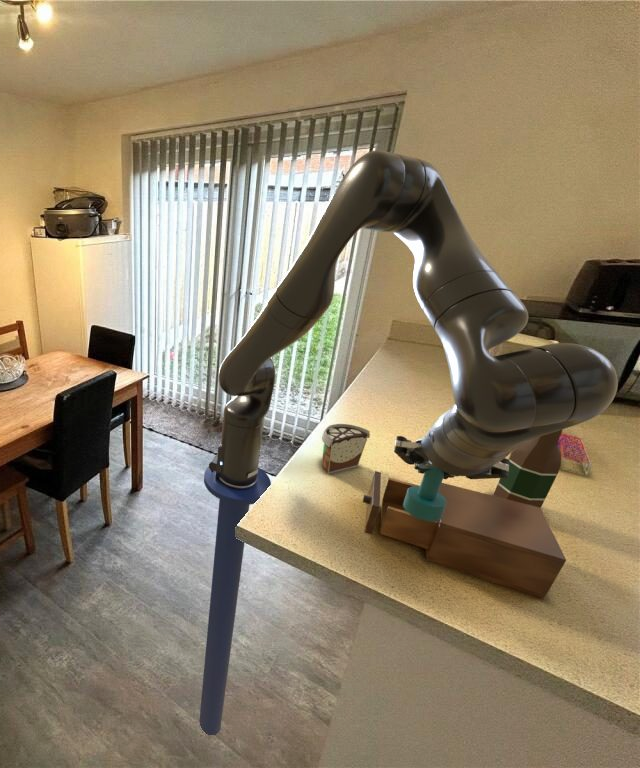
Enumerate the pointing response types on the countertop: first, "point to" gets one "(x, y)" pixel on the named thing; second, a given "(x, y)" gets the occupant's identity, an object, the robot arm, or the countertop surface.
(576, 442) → the pink sprinkled snack box
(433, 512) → the teal flanged rod post
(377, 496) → the drawer
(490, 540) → the cabinet
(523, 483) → the beer bottle
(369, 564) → the countertop surface
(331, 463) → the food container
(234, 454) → the robot arm
